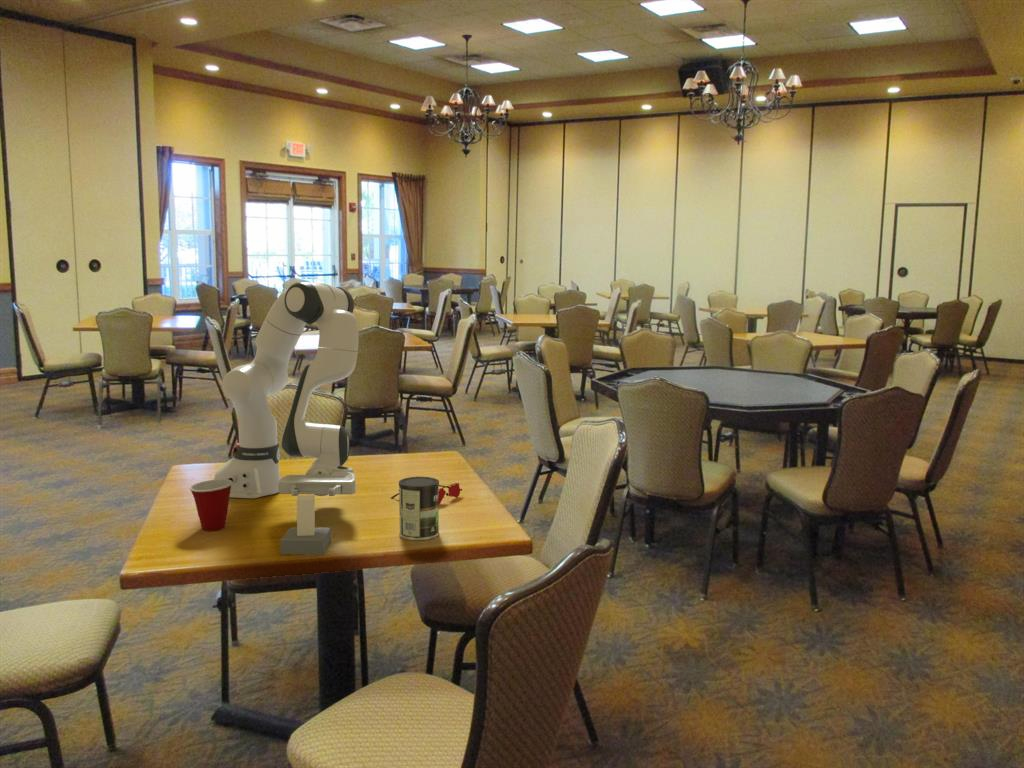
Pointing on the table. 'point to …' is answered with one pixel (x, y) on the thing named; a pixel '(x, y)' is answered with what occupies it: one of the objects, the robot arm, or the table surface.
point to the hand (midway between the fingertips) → (313, 493)
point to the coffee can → (419, 508)
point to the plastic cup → (212, 502)
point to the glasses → (453, 491)
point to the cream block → (305, 515)
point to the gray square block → (306, 542)
